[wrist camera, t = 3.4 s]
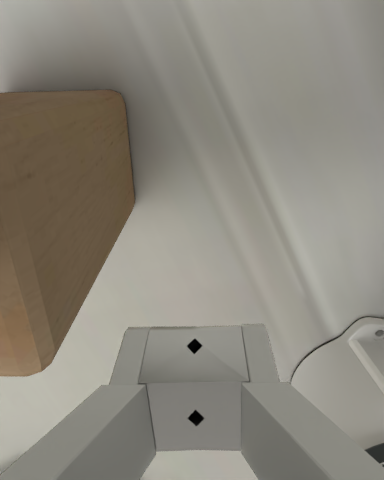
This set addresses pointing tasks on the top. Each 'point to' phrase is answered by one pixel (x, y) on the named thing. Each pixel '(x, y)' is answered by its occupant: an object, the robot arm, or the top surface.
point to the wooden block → (56, 213)
